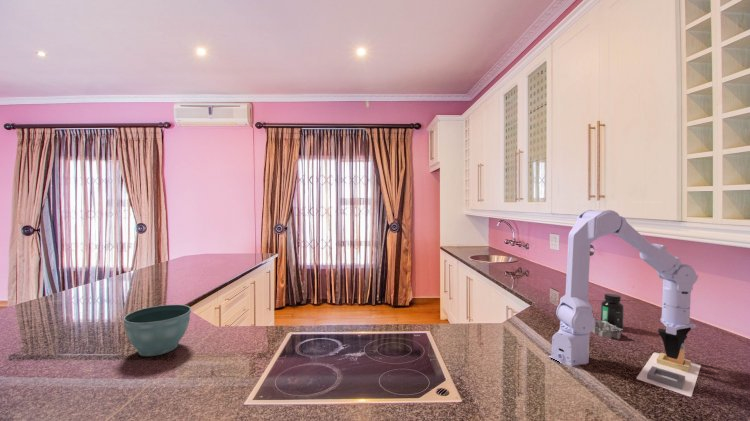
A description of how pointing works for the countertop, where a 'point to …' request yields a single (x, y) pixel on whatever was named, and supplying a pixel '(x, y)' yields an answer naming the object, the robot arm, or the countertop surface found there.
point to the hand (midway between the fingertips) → (674, 353)
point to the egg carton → (607, 330)
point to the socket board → (670, 374)
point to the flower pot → (157, 328)
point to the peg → (681, 356)
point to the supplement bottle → (612, 310)
